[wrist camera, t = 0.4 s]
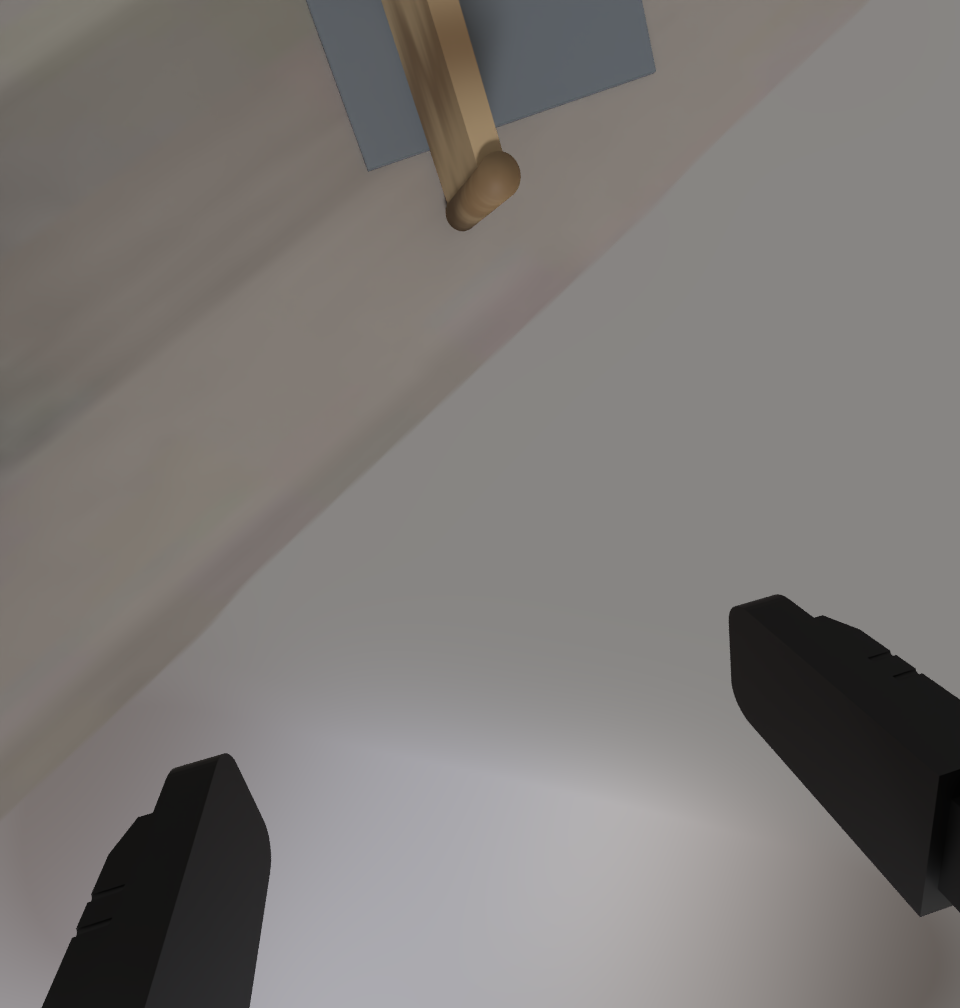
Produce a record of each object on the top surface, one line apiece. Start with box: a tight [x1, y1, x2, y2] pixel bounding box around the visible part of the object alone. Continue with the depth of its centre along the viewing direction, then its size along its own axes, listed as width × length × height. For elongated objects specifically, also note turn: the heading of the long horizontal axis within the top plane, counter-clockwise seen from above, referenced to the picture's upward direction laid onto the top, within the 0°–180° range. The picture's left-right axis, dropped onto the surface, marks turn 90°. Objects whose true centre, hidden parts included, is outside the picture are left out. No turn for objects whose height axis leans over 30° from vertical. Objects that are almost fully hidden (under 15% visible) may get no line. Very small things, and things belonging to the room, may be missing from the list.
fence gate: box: [381, 0, 521, 231], centre depth 27 cm, size 11×2×9 cm, turn 20°
